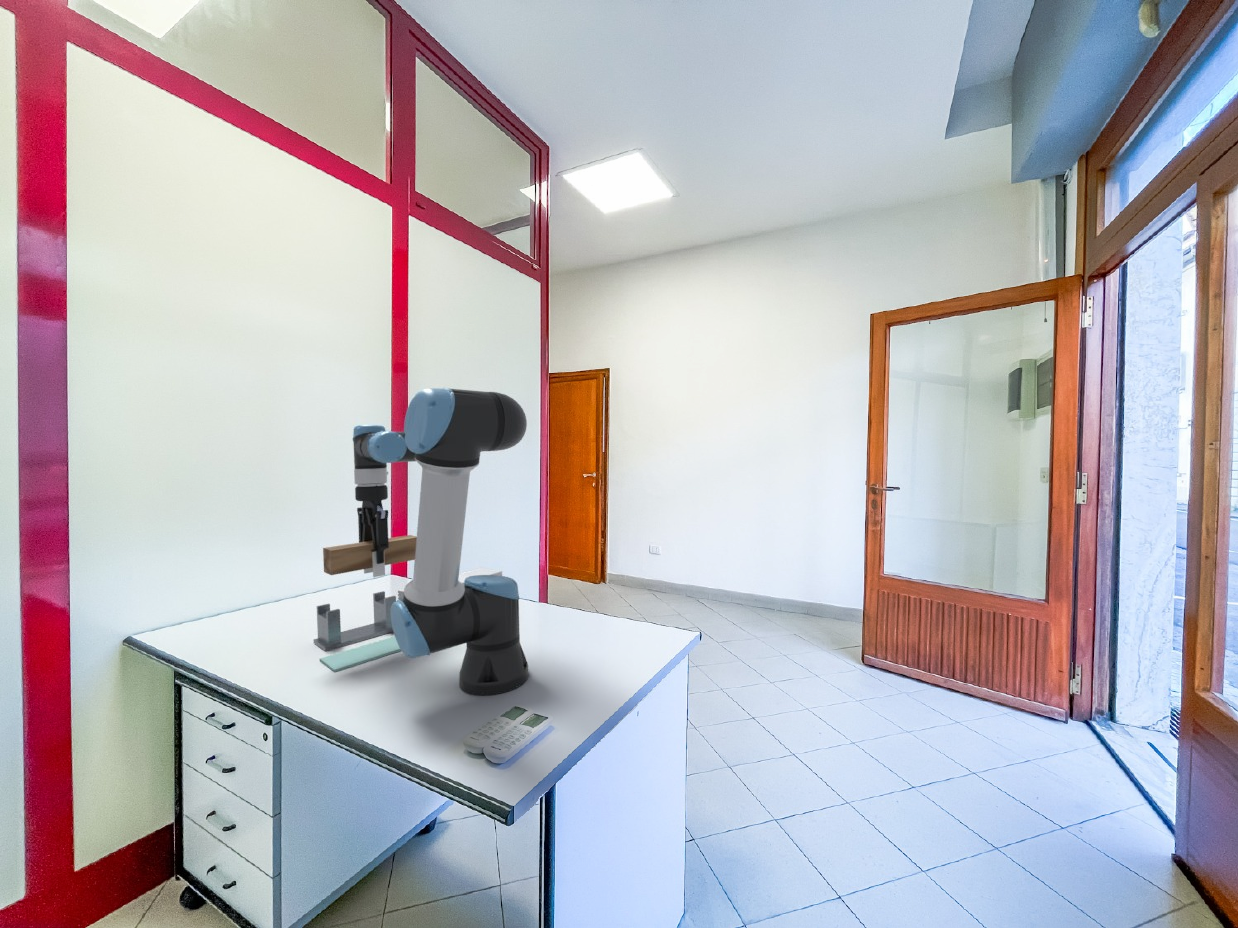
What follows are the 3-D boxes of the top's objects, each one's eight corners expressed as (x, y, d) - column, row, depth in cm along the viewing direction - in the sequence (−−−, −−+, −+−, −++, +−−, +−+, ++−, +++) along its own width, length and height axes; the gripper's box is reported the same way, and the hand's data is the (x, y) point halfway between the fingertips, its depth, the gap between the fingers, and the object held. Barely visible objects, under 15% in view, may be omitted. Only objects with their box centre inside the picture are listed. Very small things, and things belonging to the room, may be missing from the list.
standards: (401, 629, 144) (399, 595, 144) (325, 651, 130) (323, 613, 129) (387, 622, 150) (386, 590, 150) (313, 643, 136) (312, 606, 135)
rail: (419, 558, 135) (418, 536, 135) (331, 575, 119) (330, 550, 119) (410, 556, 139) (410, 535, 138) (323, 572, 122) (323, 547, 122)
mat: (430, 641, 135) (430, 639, 135) (334, 672, 117) (334, 669, 117) (413, 632, 142) (413, 630, 142) (319, 660, 124) (319, 658, 124)
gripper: (401, 485, 125) (404, 576, 126) (371, 482, 137) (374, 566, 138) (370, 487, 119) (374, 582, 120) (342, 484, 131) (345, 571, 132)
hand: (374, 573), depth 129 cm, fingers closed on rail, 5 cm apart
